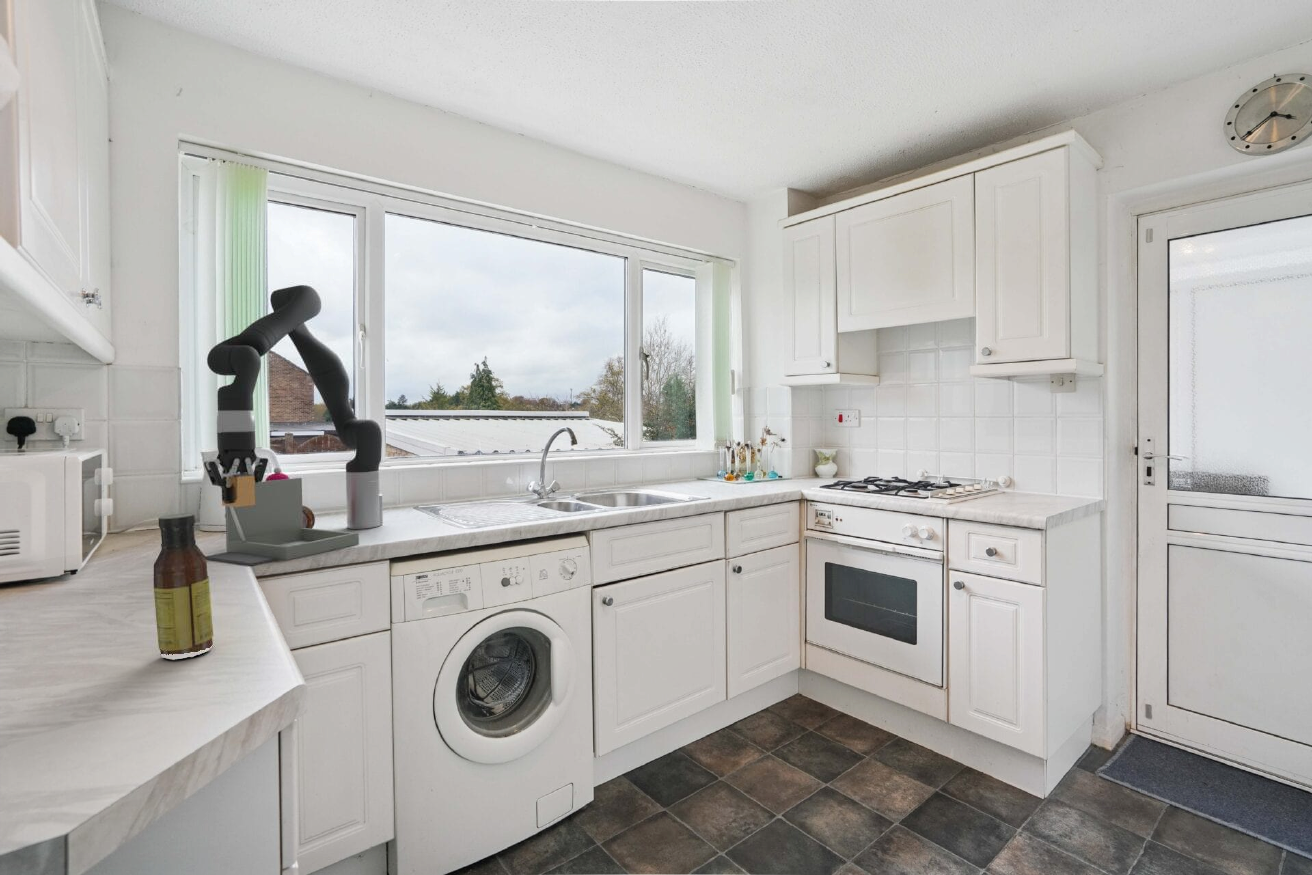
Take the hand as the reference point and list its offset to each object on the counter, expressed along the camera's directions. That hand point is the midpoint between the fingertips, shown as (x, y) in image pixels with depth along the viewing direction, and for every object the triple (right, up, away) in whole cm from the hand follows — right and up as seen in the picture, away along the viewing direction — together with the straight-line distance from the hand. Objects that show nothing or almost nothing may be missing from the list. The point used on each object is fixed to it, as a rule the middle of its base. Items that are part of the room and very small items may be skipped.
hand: (238, 501), depth 148 cm
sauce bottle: (+33, -16, -60) cm, 70 cm away
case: (+6, -13, +13) cm, 20 cm away
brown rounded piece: (-8, -13, +34) cm, 38 cm away
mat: (0, -14, 0) cm, 14 cm away
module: (0, -1, 0) cm, 1 cm away
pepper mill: (-6, -13, +27) cm, 30 cm away
